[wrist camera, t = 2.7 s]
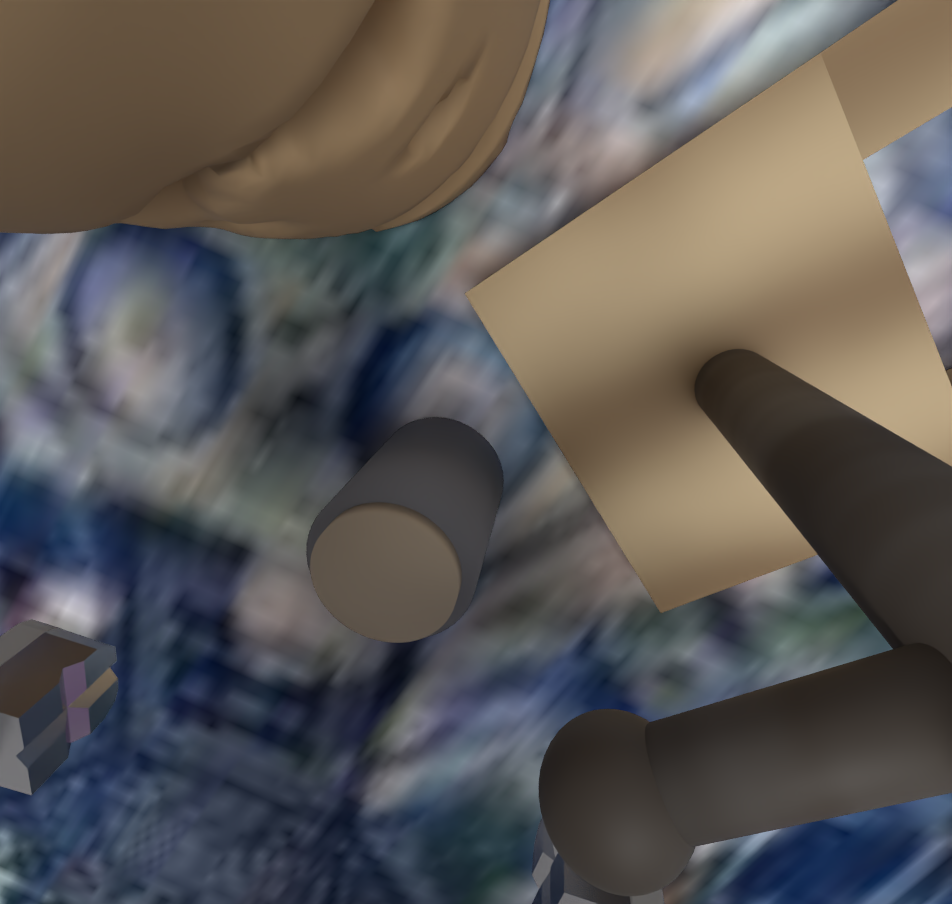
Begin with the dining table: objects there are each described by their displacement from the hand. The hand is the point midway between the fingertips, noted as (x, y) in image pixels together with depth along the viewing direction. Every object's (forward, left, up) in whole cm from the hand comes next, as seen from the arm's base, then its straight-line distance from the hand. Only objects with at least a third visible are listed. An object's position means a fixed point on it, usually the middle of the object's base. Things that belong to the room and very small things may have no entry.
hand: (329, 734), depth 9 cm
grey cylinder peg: (0, +1, -11) cm, 11 cm away
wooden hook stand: (-1, -12, -11) cm, 17 cm away
